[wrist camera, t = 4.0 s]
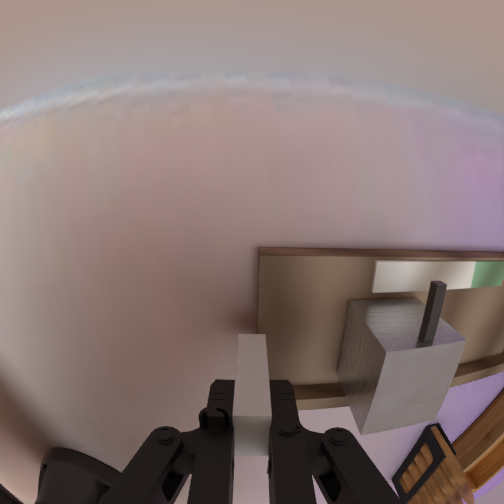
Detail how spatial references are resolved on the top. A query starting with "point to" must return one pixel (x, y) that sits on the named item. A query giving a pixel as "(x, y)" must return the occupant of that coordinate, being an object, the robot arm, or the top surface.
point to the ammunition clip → (432, 472)
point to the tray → (483, 446)
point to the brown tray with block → (370, 288)
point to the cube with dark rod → (397, 360)
